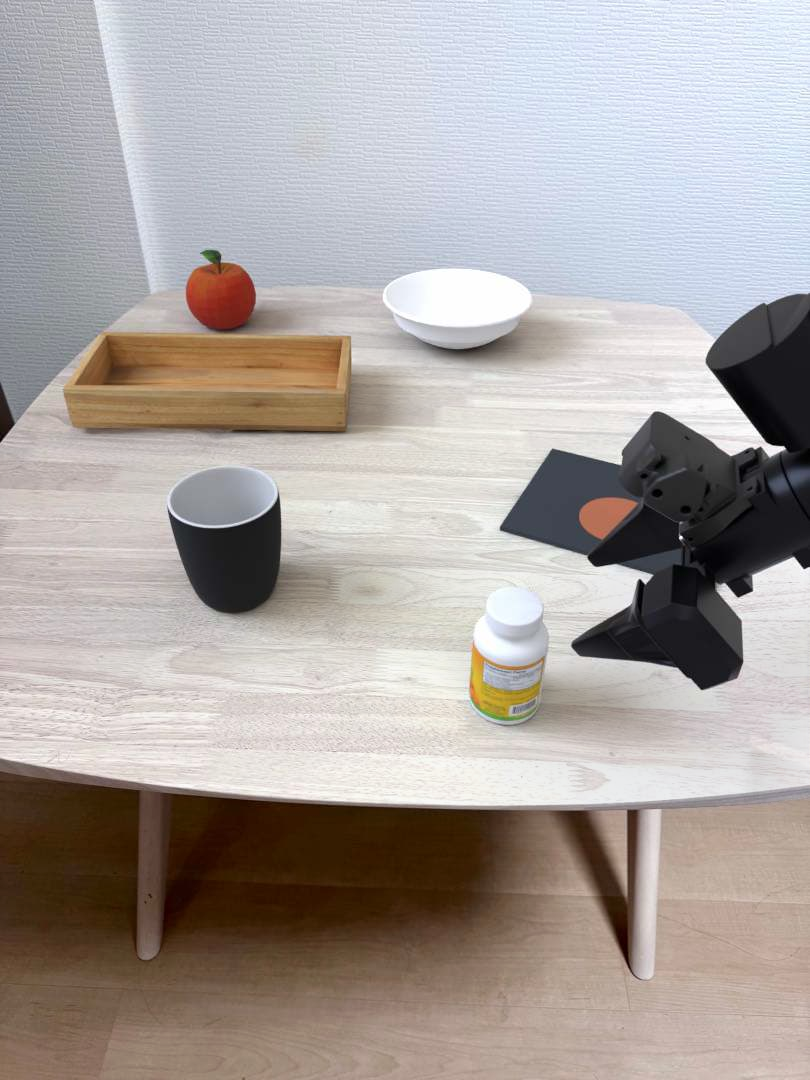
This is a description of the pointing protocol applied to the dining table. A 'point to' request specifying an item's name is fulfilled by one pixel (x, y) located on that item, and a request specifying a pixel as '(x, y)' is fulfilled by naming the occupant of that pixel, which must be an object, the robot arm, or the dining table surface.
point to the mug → (228, 535)
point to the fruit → (220, 293)
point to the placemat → (577, 507)
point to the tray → (212, 382)
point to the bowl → (457, 306)
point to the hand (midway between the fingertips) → (583, 602)
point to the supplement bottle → (509, 657)
